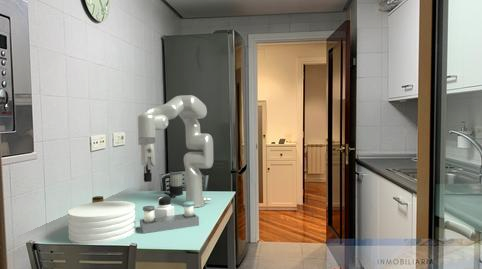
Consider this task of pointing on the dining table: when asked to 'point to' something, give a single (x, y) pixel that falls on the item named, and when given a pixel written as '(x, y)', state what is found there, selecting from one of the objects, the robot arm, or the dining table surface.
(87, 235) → the plate stack
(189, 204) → the knob
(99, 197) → the condiment
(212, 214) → the dining table surface
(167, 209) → the medicine bottle
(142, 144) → the robot arm
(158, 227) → the mount
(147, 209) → the knob
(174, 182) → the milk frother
